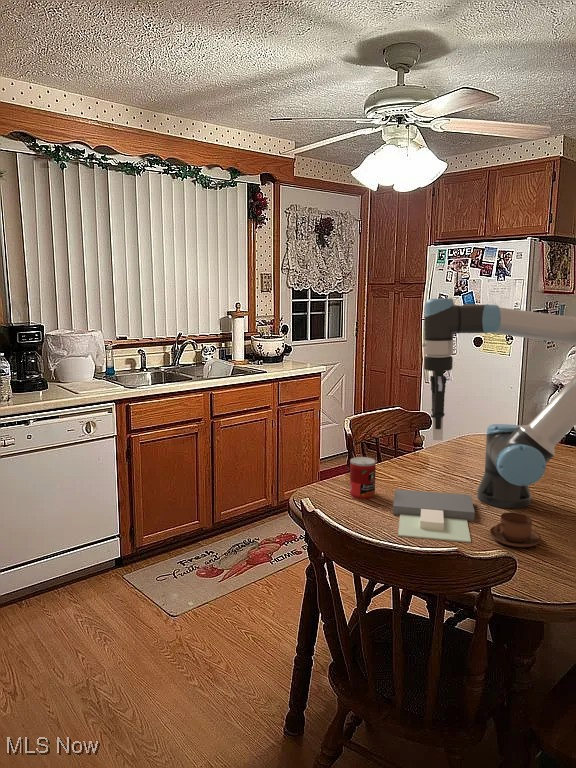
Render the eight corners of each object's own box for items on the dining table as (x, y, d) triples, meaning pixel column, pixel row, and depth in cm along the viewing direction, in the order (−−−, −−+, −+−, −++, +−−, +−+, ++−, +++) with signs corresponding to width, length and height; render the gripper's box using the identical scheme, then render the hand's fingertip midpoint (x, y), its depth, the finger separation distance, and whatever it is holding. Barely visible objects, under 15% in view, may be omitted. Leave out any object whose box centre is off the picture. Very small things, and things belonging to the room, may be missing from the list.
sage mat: (466, 521, 158) (466, 519, 158) (470, 542, 145) (470, 541, 145) (399, 515, 162) (400, 514, 162) (397, 536, 149) (397, 534, 149)
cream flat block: (420, 515, 161) (420, 508, 161) (442, 517, 160) (443, 510, 160) (420, 528, 153) (420, 521, 152) (443, 530, 151) (443, 523, 151)
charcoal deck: (470, 502, 172) (470, 494, 171) (474, 521, 158) (474, 512, 158) (395, 497, 177) (395, 489, 176) (392, 514, 163) (393, 505, 163)
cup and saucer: (522, 556, 138) (524, 531, 137) (479, 538, 148) (481, 515, 147) (550, 543, 145) (552, 520, 144) (507, 527, 155) (509, 505, 154)
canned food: (363, 501, 174) (363, 465, 172) (344, 494, 180) (344, 459, 178) (380, 495, 178) (381, 461, 177) (361, 488, 184) (362, 455, 183)
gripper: (422, 353, 165) (421, 433, 168) (426, 358, 152) (425, 445, 156) (449, 352, 164) (448, 434, 167) (455, 358, 151) (454, 445, 154)
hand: (437, 439), depth 161 cm, fingers closed
